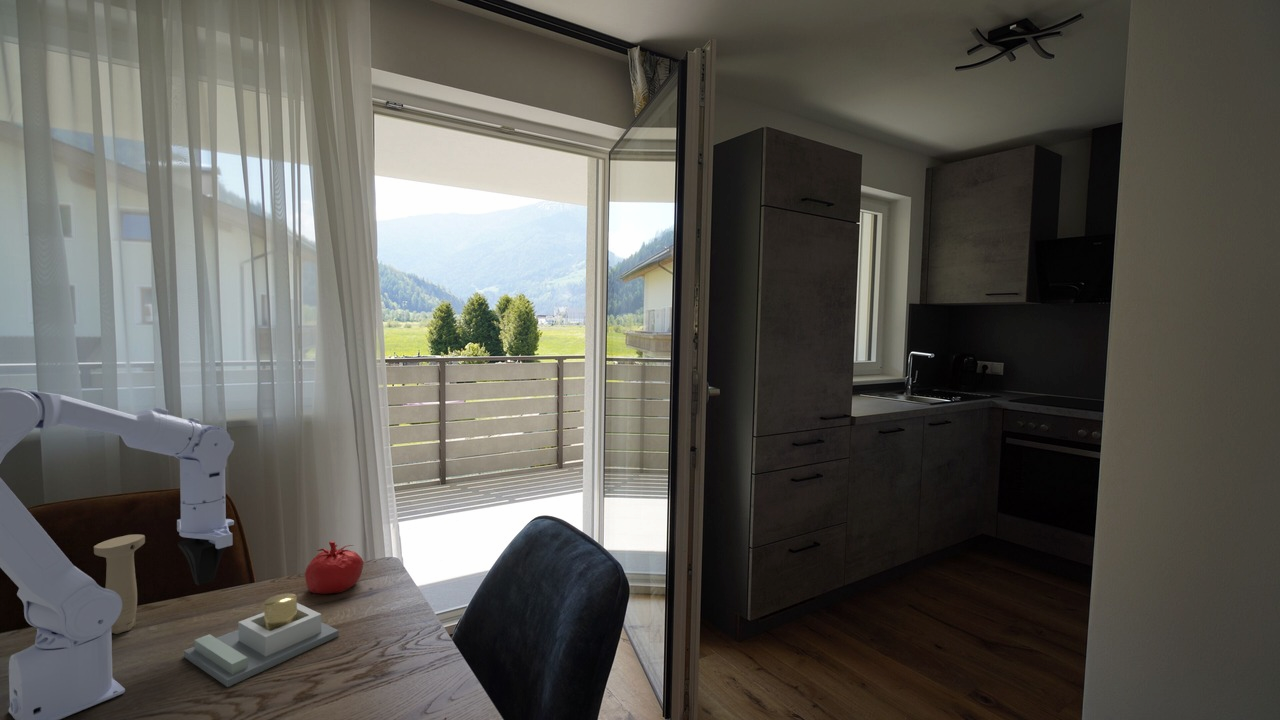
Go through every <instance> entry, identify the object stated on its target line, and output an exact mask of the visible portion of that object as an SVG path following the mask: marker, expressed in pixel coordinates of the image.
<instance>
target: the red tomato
mask: <svg viewBox="0 0 1280 720" xmlns="http://www.w3.org/2000/svg"><path fill="white" fill-rule="evenodd" d="M328 545H329V547H330V550H328V549H327V548H320V549H318V548H316V551H318V552H319V553H318V554H317V555H316V556H314V558H313V559H311V561H310V562H309V564H308V565H307V567H306V569H305V572H304V579H305V583H306V588H307V589H308V590H309V591H310V592H311V593H314V594H319V595H321V594H324V595H326V594H327V595H328V594H337V593H342V592H345V591H346V590H348V589H350V588H351V587H353V586H354V585H356V583H357V582H358V581H359V579H360V578H361V575H362V572H363V568H364V560H363V558H362V557H361V556H360V555H359V554H358V553H357V552H355V551H352V550H350V549H345V548H347V547H353V546H355V545H354V544H352V545H351V544H349V545H344V546H342V547H341V548H339V549H337V548H338V544H336V542H335V541H333V540H330V541H329V542H328ZM321 551H322V552H321Z"/></svg>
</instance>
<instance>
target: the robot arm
mask: <svg viewBox="0 0 1280 720" xmlns="http://www.w3.org/2000/svg"><path fill="white" fill-rule="evenodd" d="M200 422H201V421H200V419H198V418H195V417H194V418H193V417H189V418H188V419H186V418H182V417H178V416H175V415H172V414H169V410H168V409H166V408H161V407H154V408H153V410H152V409H142V410H139V411H137V412H135V413H132V414H131V413H128V412H124V411H120V410H117V409H113V408H109V407H106V406H103V405H99V404H95V403H94V402H93V403H92V402H89V401H84V400H82V399H78V398H74V397H71V396H68V395H64V394H60V393H53V392H45V391H44V392H43V391H35V390H25V389H22V388H19V387H14V386H2V387H1V386H0V465H1V463H2V462H3V460H4V458H5V457H6V455H7V454H8V453H9V452H10V451H11V450H12V449H14V447H16V446H17V444H19V443H20V442H21V441H22V440H23V439H24V438H25V437H26V436H28V435H29V434H30V433H31V432H32V431H33V430H34V429H41V430H42V429H43V430H45V429H49V428H52V427H55V426H56V425H64V426H70V427H76V428H81V429H87V430H89V431H90V430H91V431H96V432H102V433H106V434H113V435H118V436H120V437H121V439H122V442H123V443H124V444H125V446H127V447H128V448H131V449H136V450H141V451H147V452H151V453H156V454H161V455H165V456H171V457H175V458H176V459H178V460H179V480H180V481H179V483H180V484H179V486H180V487H179V490H180V491H179V492H180V494H179V495H180V518H179V519H176V530H177V532H178V533H179V534H178V535H179V536H180V537H182V538H188V539H185V540H182V541H179V542H178V543H177V546H178V548H179V549H180V550H181V552H183V553H182V554H184V556H185V559H186V560H187V562H188V566H189V569H190V572H191V575H192V578H193V580H194V583H195V585H197V586H202V585H203V586H204V585H206V584H208V583H212V582H214V581H215V578H216V575H217V571H218V567H219V563H220V561H221V558H222V555H223V553H224V551H225V549H226V548H227V547H231V546H233V543H234V542H233V540H234V539H233V532H231V531H230V529H229V527H230V526H234V525H235V520H233V519H231V518H226V517H227V512H226V511H227V510H226V506H227V505H226V467H227V466H228V465H227V464H228V462H227V460H228V458H229V456H230V455H231V453H232V452H233V450H234V446H235V440H232V439H231V435H230V434H229V433H230V432H228V431H227V430H226V428H223V427H222V426H221V427H220V426H217V425H209V424H200ZM0 569H1V570H2V571H3V572H4V573H5V574H6V575H7V576H8V578H10V580H11V581H12V582H13V583H14V584H15V585H16V586H17V587H18V590H17V593H16V595H17V597H18V598H19V599H20V600H21V602H22V604H23V613H24V614H23V615H24V619H25V621H26V622H27V623H28V624H29V625H30V626H32V627H35V628H36V635H35V642H34V644H32V645H30V646H28V647H27V648H25V649H22V650H20V651H18V652H16V653H13V654H11V655H10V657H9V661H8V682H9V683H8V687H9V688H8V689H9V708H8V712H9V714H10V716H12V718H13V719H14V720H62V719H65V718H66V717H69V716H71V715H74V714H76V713H79V712H81V711H83V710H86V709H88V708H92V707H93V706H96V705H98V704H101V703H103V702H106V701H108V700H110V699H113V698H115V697H117V696H120V695H122V694H124V693H125V692H126V688H125V687H123V686H122V685H121V684H120V683H119V682H118V681H116V680H115V678H114V677H113V651H112V650H113V646H112V645H113V644H112V643H113V640H112V633H111V626H112V625H113V624H114V623H115V622H116V620H117V619H118V617H119V615H120V613H121V610H122V600H121V597H120V596H119V595H118V594H117V593H116V592H115V591H113V590H109V589H105V588H106V587H102V586H101V585H99V584H98V583H97V582H96V580H95V579H94V578H92V577H91V576H90V575H88V574H87V573H85V572H84V571H82V570H81V569H80V568H78V567H77V566H76V565H74V564H73V563H72V561H70V559H69V557H67V556H66V554H65V553H64V552H63V551H62V550H61V548H60V547H59V546H58V545H57V543H55V541H54V540H53V539H52V538H51V536H50V535H49V534H48V533H47V531H46V530H45V529H44V528H43V526H42V525H41V524H40V523H39V522H38V521H37V520H36V519H35V517H34V516H33V515H32V513H31V512H30V511H29V510H28V508H26V506H25V505H24V504H23V502H22V501H21V500H20V499H19V498H18V497H17V496H16V494H15V493H14V492H13V491H12V490H11V489H10V487H9V486H8V485H7V483H5V481H4V480H3V478H2V477H0Z"/></svg>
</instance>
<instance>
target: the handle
mask: <svg viewBox="0 0 1280 720" xmlns="http://www.w3.org/2000/svg"><path fill="white" fill-rule="evenodd" d="M145 543H146V536H145V534H137V533H136V534H126V535H123V536H117V537H114V538H110V539H107V540H104V541H102V542H100V543H97V544H96V545H94V546H93V554H94V555H95V556H97V557H103V558H105V560H106V561H105V563H106V572H105V575H106V577H105V587H104V588H105V589H109V590H113V591H115V592H116V593H117V594H118V595H119V596H120V597H121V600H122V610H121V613H120V615H119V617H118V619H117V620H116V622H115V623H114V624H113V625H112V626H111V634H115V635H116V634H117V635H118V634H120V633H124V632H128V631H130V630H132V629H133V627H134V626H135V625H136V620H137V618H136V616H137V610H138V609H137V607H138V587H137V578H136V567H135V552H136V551H137V550H138V549H139V548H141V547H143V545H144V544H145Z"/></svg>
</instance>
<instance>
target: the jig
mask: <svg viewBox="0 0 1280 720" xmlns="http://www.w3.org/2000/svg"><path fill="white" fill-rule="evenodd" d="M237 626H238V627H237V628H238V629H236V630H234V631H233V630H232V631H230V632H228V633H225V634H223V635H220V636H218V637H215V636H214V635H212V634H210V633H209V634H206V635H203V636H201V637H198V638H196V639H194V640H193V641H194V644H193V645H194V646H192V647H190V648H186V649H184V650H183V658H185V659H186V660H187V661H189V662H191V663H192V664H193V665H195V666H197V668H199V669H200V670H202V671H203V672H205V673H206V674H208V675H209V676H211V677H212V678H214V679H216V680H217V681H218V682H219V683H221V685H224V686H225V687H227V688H229V687H232V686H234V685H236V684H238V683H240V682H242V681H245V680H246V679H249V678H251V677H253V676H255V675H257V674H260V673H261V672H264V671H266V670H268V669H270V668H272V667H275V666H277V665H279V664H282V663H283V662H286V661H288V660H290V659H292V658H294V657H297V656H299V655H300V654H303V653H305V652H308V651H310V650H311V649H314V648H316V647H318V646H321V645H323V644H325V643H326V642H329V641H331V640H333V639H337V638H338V637H339V630H338V629H336V628H334V627H332V626H331V625H329V624H327V623H324V622H322V613H320V612H318V611H315V610H313V609H311V608H309V607H307V606H305V605H303V604H300V603H299V602H297V621H294V622H292V623H289V624H287V625H284V626H282V627H280V628H277V629H275V630H272V631H268V630H266V629H265V627H264V611H263V612H261V613H259V614H256V615H253V616H251V617H247V618H246V619H242V620H240V621H238V622H237Z"/></svg>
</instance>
